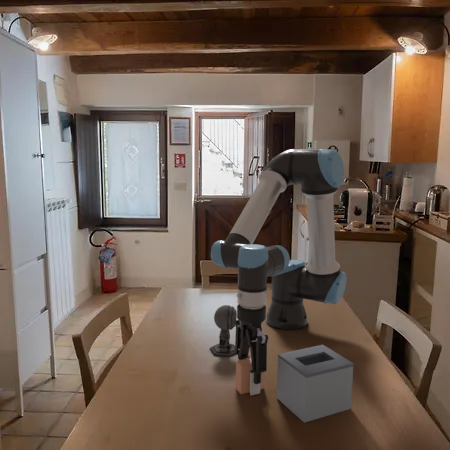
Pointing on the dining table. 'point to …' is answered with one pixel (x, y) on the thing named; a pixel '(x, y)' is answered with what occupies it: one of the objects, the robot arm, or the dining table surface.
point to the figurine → (224, 331)
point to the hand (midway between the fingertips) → (249, 388)
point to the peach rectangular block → (245, 376)
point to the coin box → (314, 382)
